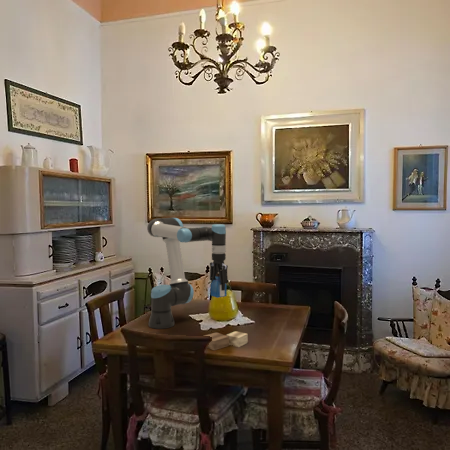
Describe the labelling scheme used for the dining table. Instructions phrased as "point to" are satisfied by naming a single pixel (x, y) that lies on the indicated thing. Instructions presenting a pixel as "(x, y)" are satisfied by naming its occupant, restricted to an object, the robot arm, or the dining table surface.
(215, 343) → the walnut block
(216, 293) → the blue carton
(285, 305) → the dining table surface
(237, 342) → the beech block
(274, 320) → the dining table surface
